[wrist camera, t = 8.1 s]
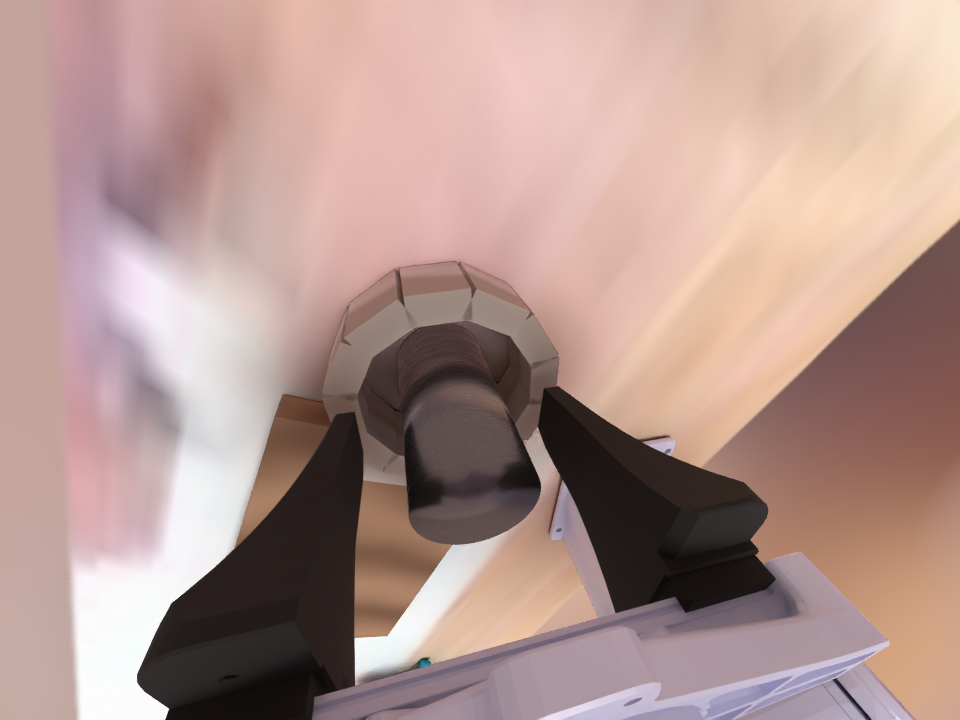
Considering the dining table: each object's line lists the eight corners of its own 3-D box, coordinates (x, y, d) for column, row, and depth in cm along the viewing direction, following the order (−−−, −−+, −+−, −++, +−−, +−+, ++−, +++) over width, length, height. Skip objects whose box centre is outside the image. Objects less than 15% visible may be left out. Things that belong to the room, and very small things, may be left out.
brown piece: (386, 614, 29) (387, 659, 27) (214, 619, 24) (195, 675, 21) (587, 318, 18) (620, 349, 15) (340, 208, 13) (330, 227, 10)
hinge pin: (479, 388, 18) (533, 529, 12) (401, 397, 18) (413, 555, 11) (481, 319, 16) (549, 446, 10) (393, 326, 16) (402, 470, 9)
